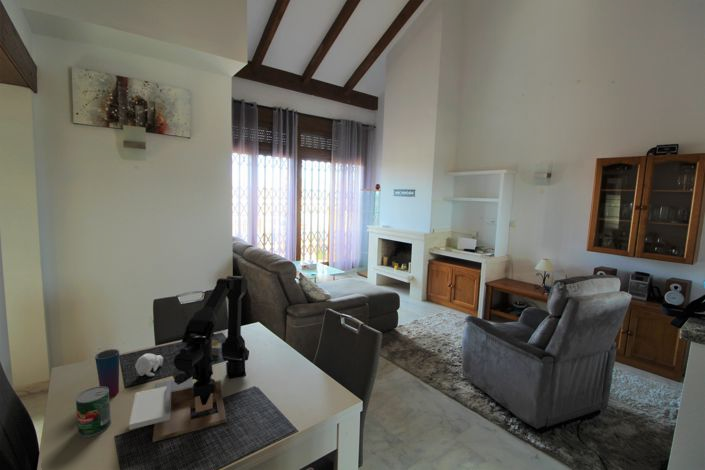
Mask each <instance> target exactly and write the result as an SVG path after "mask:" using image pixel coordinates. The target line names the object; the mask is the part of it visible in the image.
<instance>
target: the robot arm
mask: <svg viewBox="0 0 705 470" xmlns="http://www.w3.org/2000/svg"><path fill="white" fill-rule="evenodd" d="M247 287H248V280H247V278H245V276H240V275H239V276H238V275H228V276H227V277H226V278H224V277H222V278H221V277H220V278H218V279H217V281H216V283H215V287H214V288H213V289H212V292H211V293H210V295H209V296H208V298H207V300H206V302H205V303H204V306H203V307H202V308H201V309H199V310H198V311H196V312H195V313H194V314H193V315H192V317H191V318H190V319H189V321H188V322H187V325H186V327H185V330H184V334H183V337H182V340H181V343H182V344H185V345H184V346H182V347H181V348H180V349H179V352H178V353H177V354H176V355H175V357H174V359H173V365H174V367H175V368H174V369H173V370H172V378H173V380H174V382H175V383H176V384H177V385H179V384H181V383H183V382H185V381H187V380H188V379H189V378H191V377H192V381H193V380H196V381H195V382H194V383H192V386H193V397H198V396H200V399H201V402H202V405H206V403H207V401H208V399H209V397H210V395H211V393H214V392H216V385H215V381H216V380H215V379H214V378H212V376H213V374H214V371H213V362H214V361H213V360H214V359H213V355H212V340H213V337H214V336H215V334H214V333H215V331H216V326H217V323H218V322H217V321H218V320H217V315H218V313H219V312H220V309H221V307H222V306H223V303H224V302H225V299H226V298H227V299H228V304H227V306H228V307H227V337H226V339H225V340H224V341H223V342H222V344H221V356H222V360H223V361H226V362H225V371H226V376H228V379H229V380H230V379H234V378H239V377H243V376H244V377H245V376H247V373H246V361H248V360H249V357H250V350H249V349H248V348H247V347H246V342H245V339H244V338H243V336H242V298H243V297H244V295H245V294H246V293H247Z"/></svg>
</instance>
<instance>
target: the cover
mask: <svg viewBox="0 0 705 470" xmlns="http://www.w3.org/2000/svg"><path fill="white" fill-rule="evenodd" d="M170 411H171V382H167V386H165V387H160V388H156V387H155V388H152V389H146V390H141V391H138V392H135V395H134V401H133V404H132V408H131V412H130V418H129V424H128V429H129V430H130V431H131V430H133V429H139V428H143V427H146V426H149V425H150V426H151V425H154V423H158V422H162V421H166V420H170Z"/></svg>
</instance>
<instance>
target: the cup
mask: <svg viewBox="0 0 705 470" xmlns="http://www.w3.org/2000/svg"><path fill="white" fill-rule="evenodd" d="M94 358H95V359H94V360H95V365H96V370H97V377H98V384H99V387H100V386H103V387H107V388H108V389H109V399H110V398H113V397H115V396H117V395H118V394H119V393H120V392H119V391H120V350H119V349H113V348H111V349H106V350H103V351H100V352H98V353H96V354H95V355H94Z"/></svg>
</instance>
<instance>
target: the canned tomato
mask: <svg viewBox="0 0 705 470" xmlns="http://www.w3.org/2000/svg"><path fill="white" fill-rule="evenodd" d="M75 402H76V403H75V405H76V406H75V407H76V417H77V418H76V419H77V430H78V433H77V434H78V435H79V436H80V437H84V438H86V437H87V438H89V437H93V436H96V435H99V434H101V433H103V432H104V431H106V430H107V429H108V428H109V427H110V426H111V424H112V420H111V406H110V405H111V404H110V398H109V389H108V388H107V387H103V386H100V385H99V386H95V387H90V388H88V389H85V390H83V391H82V392H80V393H79V394H77V396H76V397H75Z"/></svg>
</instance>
